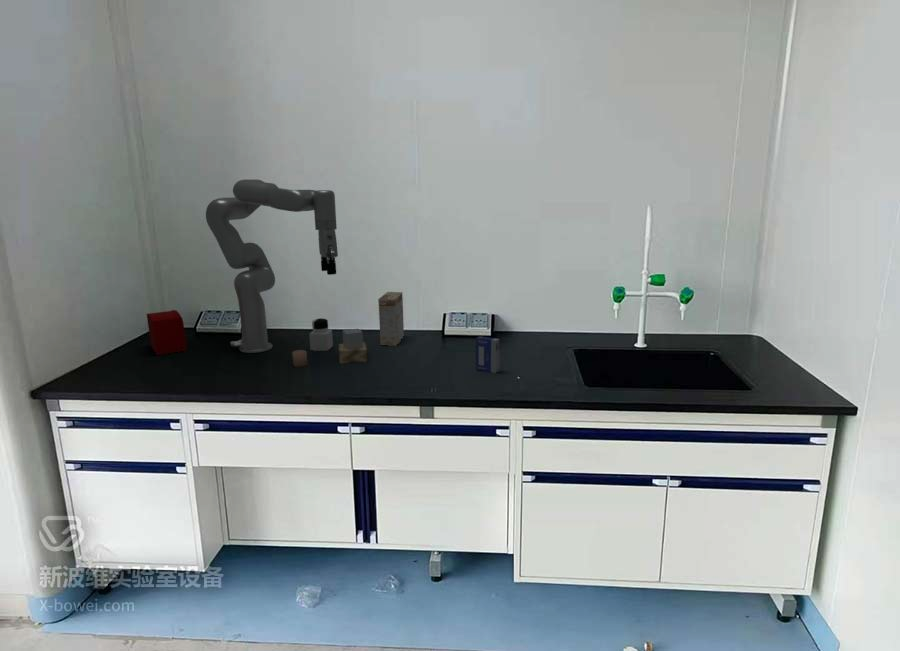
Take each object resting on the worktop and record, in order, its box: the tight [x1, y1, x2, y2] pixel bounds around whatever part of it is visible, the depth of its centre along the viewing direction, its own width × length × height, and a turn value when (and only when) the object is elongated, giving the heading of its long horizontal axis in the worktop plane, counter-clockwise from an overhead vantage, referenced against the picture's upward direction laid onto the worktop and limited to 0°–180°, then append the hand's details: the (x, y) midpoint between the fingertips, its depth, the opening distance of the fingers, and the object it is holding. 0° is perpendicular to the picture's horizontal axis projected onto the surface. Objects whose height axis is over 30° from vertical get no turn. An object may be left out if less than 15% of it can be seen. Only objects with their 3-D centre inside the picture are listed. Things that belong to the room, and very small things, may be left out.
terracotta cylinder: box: [291, 349, 308, 368], centre depth 208 cm, size 5×5×5 cm
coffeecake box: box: [377, 291, 405, 347], centre depth 236 cm, size 15×7×20 cm, turn 172°
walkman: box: [475, 335, 500, 374], centre depth 199 cm, size 8×3×12 cm, turn 60°
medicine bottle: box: [308, 317, 334, 352], centre depth 228 cm, size 7×7×12 cm
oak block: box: [338, 341, 368, 364], centre depth 215 cm, size 10×10×5 cm
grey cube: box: [342, 328, 364, 350], centre depth 214 cm, size 6×6×6 cm
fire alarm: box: [146, 309, 187, 356], centre depth 229 cm, size 16×11×15 cm
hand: (328, 272), depth 211 cm, fingers open, 9 cm apart
